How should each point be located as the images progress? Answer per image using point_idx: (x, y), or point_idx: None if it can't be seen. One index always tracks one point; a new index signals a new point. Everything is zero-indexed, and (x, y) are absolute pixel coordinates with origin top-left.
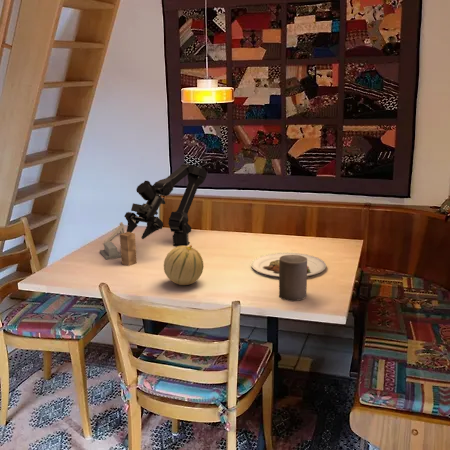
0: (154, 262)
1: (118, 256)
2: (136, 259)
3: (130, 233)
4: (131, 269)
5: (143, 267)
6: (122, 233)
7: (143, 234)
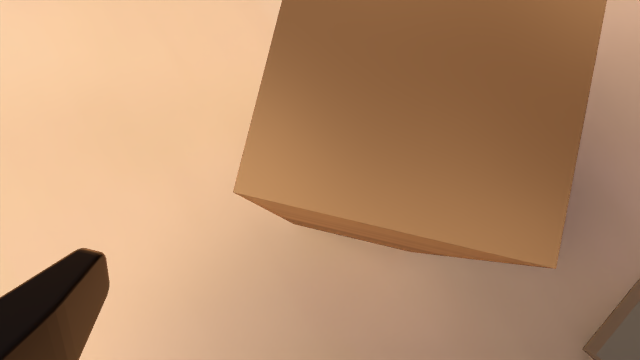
0: (110, 317)
1: (620, 317)
2: (291, 222)
3: (359, 139)
4: (231, 21)
5: (142, 121)
6: (589, 55)
7: (15, 302)
